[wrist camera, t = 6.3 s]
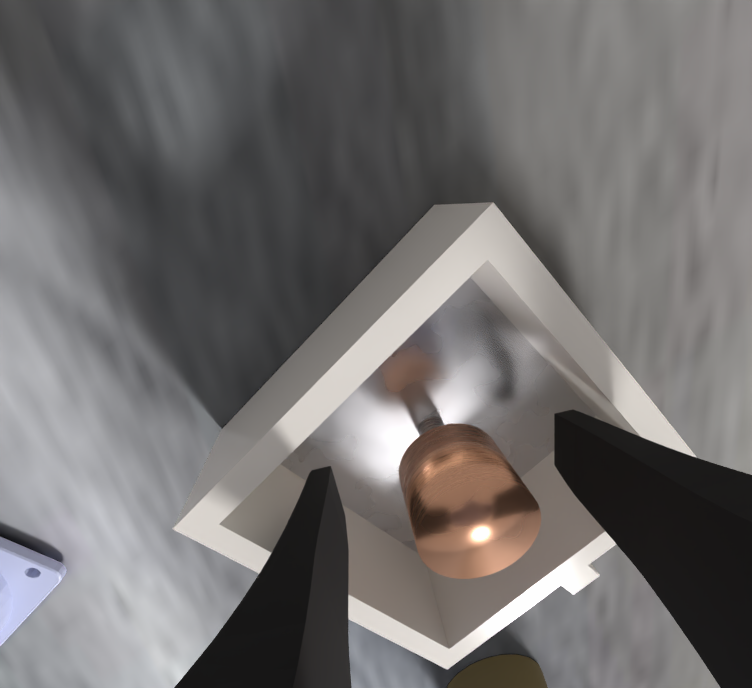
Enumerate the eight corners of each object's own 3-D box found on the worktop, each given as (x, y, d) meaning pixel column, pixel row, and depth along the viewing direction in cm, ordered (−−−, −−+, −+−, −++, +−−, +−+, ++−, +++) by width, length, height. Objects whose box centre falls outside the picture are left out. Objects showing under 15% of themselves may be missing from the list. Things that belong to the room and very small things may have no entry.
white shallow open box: (221, 429, 13) (172, 528, 9) (434, 204, 11) (493, 201, 7) (446, 574, 17) (482, 687, 13) (628, 427, 15) (735, 506, 11)
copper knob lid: (250, 434, 13) (204, 563, 8) (436, 243, 11) (512, 267, 7) (421, 547, 16) (460, 689, 11) (587, 408, 14) (712, 506, 10)
